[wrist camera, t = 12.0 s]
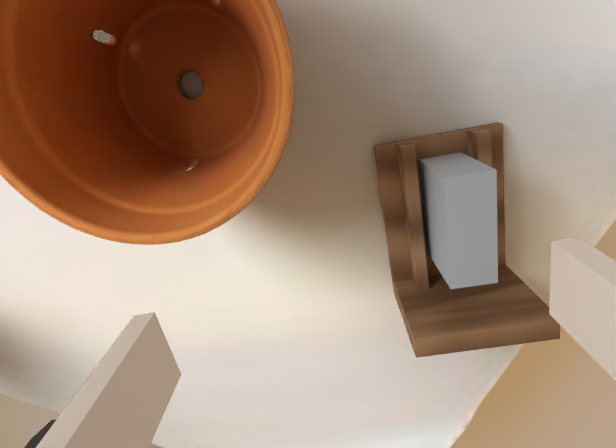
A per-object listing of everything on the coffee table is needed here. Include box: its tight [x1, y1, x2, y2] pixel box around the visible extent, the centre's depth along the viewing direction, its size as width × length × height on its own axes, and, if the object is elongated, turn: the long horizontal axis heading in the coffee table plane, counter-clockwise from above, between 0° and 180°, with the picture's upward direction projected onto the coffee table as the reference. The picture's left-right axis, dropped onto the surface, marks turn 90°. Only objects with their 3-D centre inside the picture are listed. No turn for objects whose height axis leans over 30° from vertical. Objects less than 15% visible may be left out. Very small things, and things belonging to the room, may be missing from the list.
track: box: [374, 123, 560, 357], centre depth 35 cm, size 17×12×11 cm
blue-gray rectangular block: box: [419, 152, 498, 289], centre depth 35 cm, size 10×4×8 cm, turn 10°
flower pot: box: [0, 0, 295, 245], centre depth 29 cm, size 21×21×15 cm
